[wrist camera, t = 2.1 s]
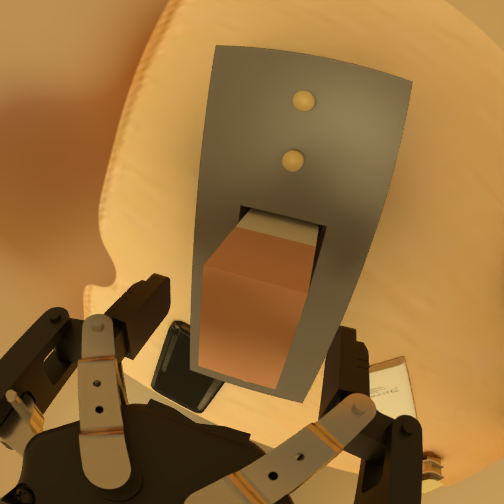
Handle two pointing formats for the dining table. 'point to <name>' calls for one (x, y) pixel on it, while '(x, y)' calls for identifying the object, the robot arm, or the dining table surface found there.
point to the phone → (182, 373)
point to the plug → (255, 296)
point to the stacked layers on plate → (431, 474)
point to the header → (297, 178)
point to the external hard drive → (392, 388)
